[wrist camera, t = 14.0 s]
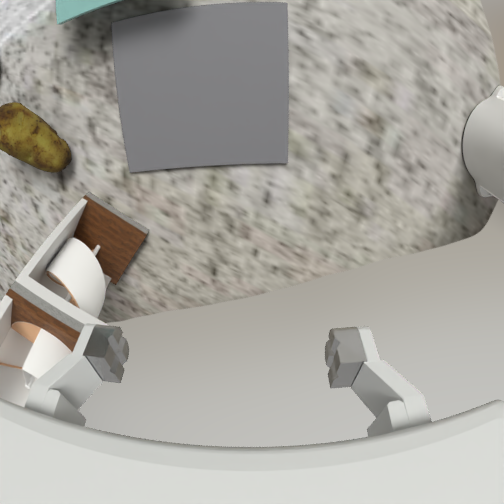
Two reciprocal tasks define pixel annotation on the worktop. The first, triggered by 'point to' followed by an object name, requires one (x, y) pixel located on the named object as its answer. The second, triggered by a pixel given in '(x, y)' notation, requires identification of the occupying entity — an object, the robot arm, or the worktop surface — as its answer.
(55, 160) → the potato
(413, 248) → the worktop surface
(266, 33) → the mat
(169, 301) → the worktop surface
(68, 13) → the lid
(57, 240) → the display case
